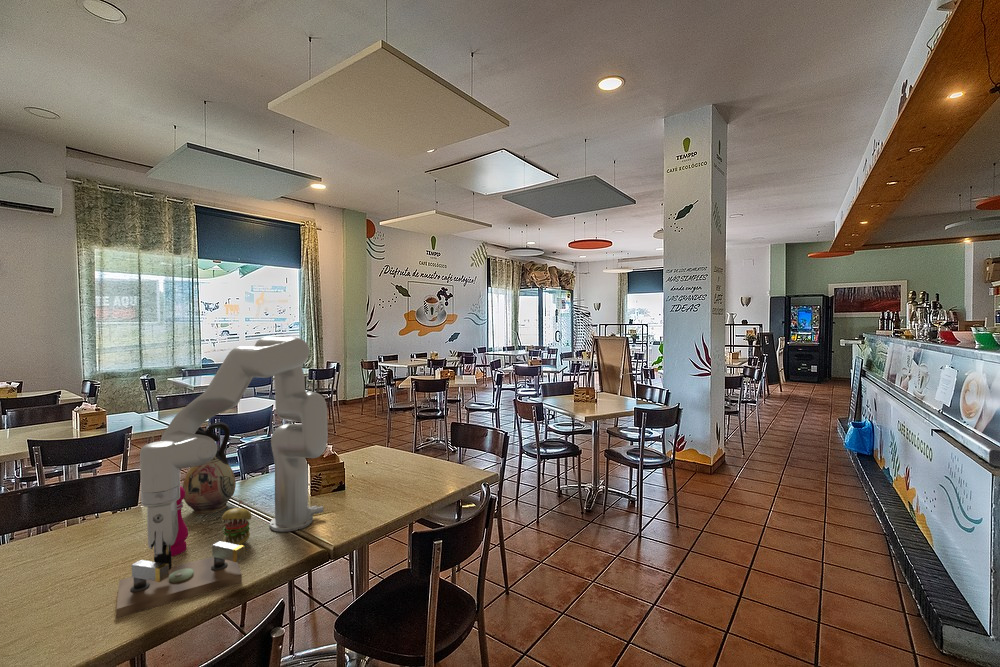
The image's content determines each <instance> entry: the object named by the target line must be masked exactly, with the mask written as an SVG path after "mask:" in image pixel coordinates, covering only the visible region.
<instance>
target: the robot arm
mask: <svg viewBox="0 0 1000 667" xmlns="http://www.w3.org/2000/svg"><path fill="white" fill-rule="evenodd" d="M309 347H310V346H309V345H308V343H307V342H306V341H305V340H303V339H302V338H299V337H289V336H288V337H287V336H286V337H282V336H265V337H261V338H260V339H258V340H257V341H256V342H255V344H254V346H249V345H248V346H247V345H244V346H237V347H234V348H232V349H231V350H230V352H228V354H227V355H226V357H225V359H224V360H223V361H222V363H221V365H220V367H219V368H218V370H217V371H216V373H215V375H214V376H213V378H212V379H211V381H210V383H209V385H208V386H207V387H206V389H205V390H204V392H203V393H201V394H200V395H199V396H198V397H197V396H196V398H194V399H193V400H192V401H191V402H190V403H188V404H187V405H186V406H184V407H183V408H182V409H181V410H180V411H179V412H178V413H177V414H176V415H175V416H174V417H173V418H172V420H171V421H170V423H169V425H168V426H167V428H166V430H164V433H163V434H162V436H161V438H160V441H159V440H158V441H154V442H150V443H147V444H145V445H143V446H142V447H141V449H140V451H139V470H140V472H139V473H140V499H141V506H143V507H146V510H147V511H146V515H147V516H146V518H147V520H146V521H147V523H146V524H147V525H146V526H147V545H148V549H150V550H153V553H154V556H153V562H158V563H167V564H169V570H170V569H171V567H173V564H172V562H173V561H172V560H173V559H172V557H173V556H172V555H171V551H170V550H171V545H173V544H174V543H175V540H176V537H177V534H178V515H177V502H176V501H177V500H178V499H180V486H181V474H180V472H181V471H180V470H183V469H187V468H188V469H190V467H196V466H201V465H204V464H206V463H208V462H209V461H211V460H212V459H213V458H214V456H215V455H216V453H217V451H218V444H217V442H215V441H214V440H213V439H212V438H210V437H208V436H204V435H197V434H195V432H196V431H197V430H198V428H199V427H202V425H203V424H204V423H205V422H206V421H208V420H210V419H212V418H213V417H214V416H215V417H216V416H217V415H220V414H221V413H224V412H227V411H229V410H231V409H233V408H235V407H237V405H238V404H239V402H240V401H241V399H242V397H243V395H244V393H245V392H246V391H247V389H248V386H249V385H250V384H251V382H252V380H253V378H260V379H261V378H263V379H265V378H270V377H274V387H275V388H274V392H275V396H274V397H275V398H274V399H275V400H274V402H275V413H276V415H277V417H278V419H280V420H284V421H290V422H296V423H286V424H282V425H280V426H277V428H275V429H274V431H273V433H272V434H271V437H270V438H271V439H270V446H271V451H272V456H273V461H274V462H273V463H274V518H272V519H271V520H270V522H269V529H271V531H273V532H281V533H283V532H284V533H288V532H294V531H299V530H302V529H305V528H306V527H308V526H309V525H311V524H312V523H313V520H314V515H315V514H320V513H321V514H322V513H323V512H324V506H323V505H321V506H318V505H312V506H309V504H308V503H309V501H308V500H309V499H308V498H309V497H308V485H309V484H308V483H309V482H308V480H309V478H308V477H309V476H308V471H309V470H308V468H309V467H308V462H307V458H308V459H314V458H315V459H316V458H319V457H321V455H322V454H323V453H325V450H326V449H327V444H328V439H329V438H328V436H329V434H328V406H327V402H326V399H325V398H324V396H323V395H322V394H320V393H318V392H315V391H307V390H306V386H305V385H306V383H305V374H304V370H303V367H302V365H303V364H305V363H306V361H307V360H308V358H309V355H310V348H309ZM298 422H299V423H301V424H297V423H298ZM298 529H299V530H298Z"/></svg>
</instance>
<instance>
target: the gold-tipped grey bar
mask: <svg viewBox="0 0 1000 667" xmlns="http://www.w3.org/2000/svg"><path fill="white" fill-rule="evenodd" d="M211 546H212V547H211V548H212V550H211V551H212V552H211V553H212V555H211V557H214V567H222V566H224V565H225V560H229V561H233V562H237V563H238V562H240V561H242V560H243V559H245V545H236V544H231V543H227V542H223V540H222V541H221V540H219V541H217V542H215V543H213V544H212V545H211Z"/></svg>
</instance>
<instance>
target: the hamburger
mask: <svg viewBox="0 0 1000 667" xmlns="http://www.w3.org/2000/svg"><path fill="white" fill-rule="evenodd" d="M243 503H245V501H242V500H240V499H238V507H234V508H233V507H232V508H230V509H228V510H226V511H224V513H223V514H222V516H221V521H224V524H225V525H224V526H223V528H222V530H223V534H224V536H223V539H222V542H227V543H231V544H236V545H242V546H244V544H245V543H246V542H248V540H249V538H250V525H251V523H250V522H249V521H250V520H251V519H252V512H251V511H250V510H248V509H247V508H244V507H239V506H240V505H241V504H243Z"/></svg>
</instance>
